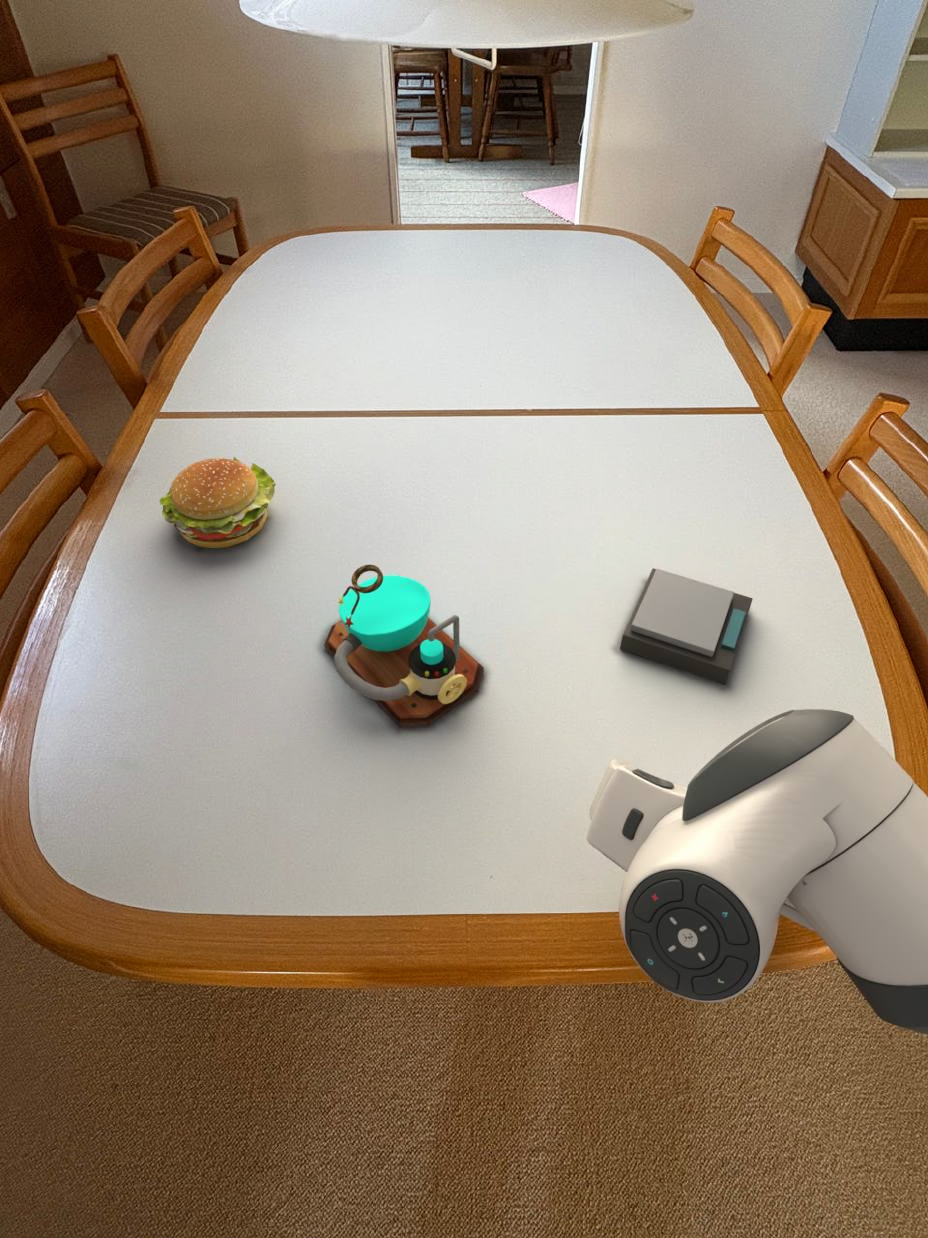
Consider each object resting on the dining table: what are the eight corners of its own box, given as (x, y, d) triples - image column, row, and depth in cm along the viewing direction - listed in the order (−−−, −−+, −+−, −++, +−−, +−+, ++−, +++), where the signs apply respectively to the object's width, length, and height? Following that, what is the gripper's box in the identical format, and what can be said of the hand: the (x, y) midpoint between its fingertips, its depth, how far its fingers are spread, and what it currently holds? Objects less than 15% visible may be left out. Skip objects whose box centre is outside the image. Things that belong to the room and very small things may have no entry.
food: (220, 573, 98) (204, 524, 92) (151, 527, 104) (132, 478, 98) (301, 517, 105) (291, 468, 99) (232, 477, 111) (219, 429, 105)
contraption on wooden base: (392, 752, 80) (380, 657, 69) (297, 649, 89) (273, 551, 78) (495, 681, 86) (499, 584, 75) (396, 592, 95) (387, 494, 84)
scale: (747, 612, 93) (755, 591, 91) (724, 685, 86) (732, 664, 83) (649, 582, 97) (654, 561, 94) (619, 649, 89) (623, 628, 87)
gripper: (886, 897, 51) (864, 847, 64) (598, 755, 58) (631, 736, 71) (844, 982, 52) (831, 915, 64) (566, 831, 59) (604, 798, 72)
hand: (724, 820), depth 68 cm, fingers closed on can, 7 cm apart
